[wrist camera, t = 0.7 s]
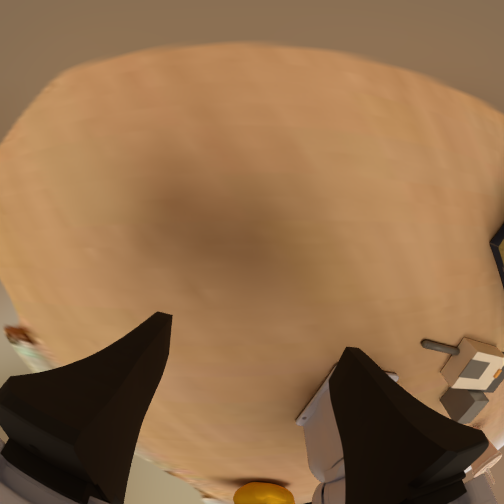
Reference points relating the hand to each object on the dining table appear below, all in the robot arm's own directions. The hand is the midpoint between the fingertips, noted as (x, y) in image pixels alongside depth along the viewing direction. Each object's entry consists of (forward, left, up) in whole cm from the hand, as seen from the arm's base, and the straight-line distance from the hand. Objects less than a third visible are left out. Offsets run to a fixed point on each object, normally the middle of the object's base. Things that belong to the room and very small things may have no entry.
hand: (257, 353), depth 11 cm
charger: (-8, -31, -11) cm, 34 cm away
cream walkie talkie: (-3, -26, -11) cm, 28 cm away
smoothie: (-19, -49, -11) cm, 54 cm away
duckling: (-35, -13, -11) cm, 39 cm away
